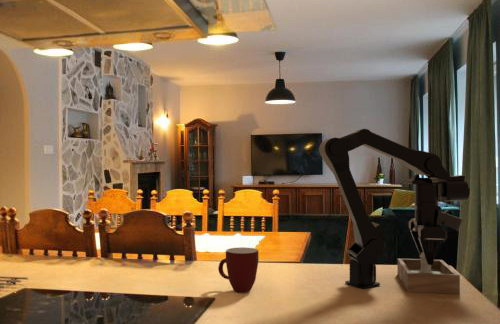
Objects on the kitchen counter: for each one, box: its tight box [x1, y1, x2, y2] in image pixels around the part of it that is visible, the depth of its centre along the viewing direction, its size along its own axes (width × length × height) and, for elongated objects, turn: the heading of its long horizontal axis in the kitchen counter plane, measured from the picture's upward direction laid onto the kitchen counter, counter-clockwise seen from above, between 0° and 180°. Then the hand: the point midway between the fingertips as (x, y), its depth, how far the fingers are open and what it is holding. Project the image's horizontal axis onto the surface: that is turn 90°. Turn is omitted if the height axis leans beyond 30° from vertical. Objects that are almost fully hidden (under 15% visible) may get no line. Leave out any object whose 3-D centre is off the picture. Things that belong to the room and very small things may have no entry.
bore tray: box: [397, 258, 461, 295], centre depth 123 cm, size 18×12×4 cm, turn 170°
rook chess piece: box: [419, 252, 432, 273], centre depth 123 cm, size 4×4×8 cm
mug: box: [217, 246, 260, 294], centre depth 116 cm, size 10×8×10 cm
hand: (426, 261), depth 123 cm, fingers open, 9 cm apart
